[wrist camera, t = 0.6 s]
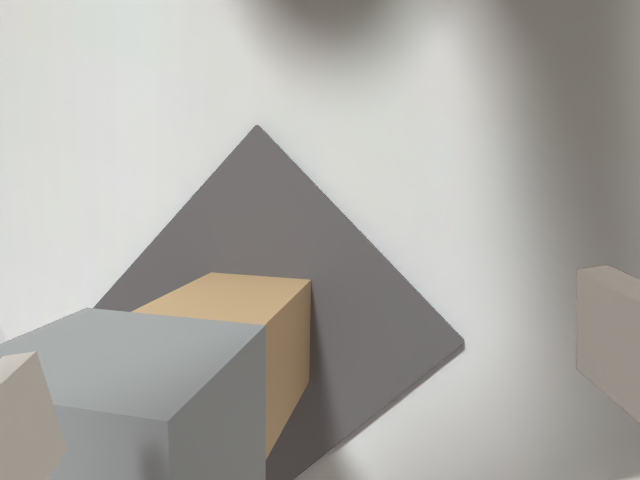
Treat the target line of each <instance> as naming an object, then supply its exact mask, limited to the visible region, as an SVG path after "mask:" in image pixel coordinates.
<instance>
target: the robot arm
mask: <svg viewBox="0 0 640 480" xmlns="http://www.w3.org/2000/svg"><path fill="white" fill-rule="evenodd" d="M576 369H577V370H578V371H579V372H580V373H581V374H582V375H584V376H585V377H586V378H587V379H588V380H589V381H591V382H592V383H593V384H594V385H595V386H596V387H598V388H599V389H600V390H601V391H602V392H603V393H605V394H606V395H607V396H608V397H609V398H610V399H612V400H613V401H614V402H615V403H616V404H617V405H619V406H620V407H621V408H622V409H623V410H624V411H626V412H627V413H628V414H629V415H630V416H631V417H633V418H634V419H635V420H636V421H637V422H638V423H640V279H638V278H636V277H633V276H631V275H629V274H627V273H624V272H622V271H620V270H618V269H616V268H613V267H611V266H609V265H603V266H597V267H590V268H583V269H577V361H576ZM66 452H67V447H66V443H65V440H64V437H63V434H62V431H61V427H60V424H59V421H58V418H57V415H56V412H55V408H54V405H53V402H52V399H51V396H50V392H49V389H48V386H47V383H46V380H45V377H44V373H43V370H42V367H41V364H40V361H39V358H38V354H37V351H34V352H27V353H20V354H14V355H7V356H3V357H2V358H1V359H0V480H48V479H49V478H50V476H51V475H52V473H53V472H54V470H55V469H56V467H57V466H58V464H59V463H60V461H61V459H62V458H63V456H64V455H65V453H66Z"/></svg>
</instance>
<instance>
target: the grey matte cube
mask: <svg viewBox="0 0 640 480" xmlns="http://www.w3.org/2000/svg"><path fill="white" fill-rule="evenodd" d="M34 351H37V354H38V358H39V361H40V364H41V367H42V370H43V373H44V377H45V380H46V383H47V386H48V389H49V392H50V396H51V399H52V402H53V405H54V408H55V412H56V415H57V418H58V421H59V424H60V427H61V431H62V434H63V437H64V440H65V443H66V447H67V452H66V453H65V455H64V456H63V458H62V459H61V461H60V463H59V464H58V466H57V467H56V469H55V470H54V472H53V473H52V475H51V476H50V478H49V479H48V480H266V325H260V324H249V323H239V322H229V321H218V320H208V319H198V318H187V317H177V316H166V315H156V314H146V313H135V312H125V311H115V310H104V309H94V308H86V309H83V310H81V311H78V312H76V313H74V314H71V315H69V316H66V317H64V318H62V319H59V320H57V321H54V322H52V323H50V324H47V325H45V326H42V327H40V328H38V329H35V330H33V331H30V332H28V333H26V334H23V335H21V336H18V337H16V338H14V339H11V340H9V341H6V342H4V343H2V344H0V359H1V358H2V357H3V356H7V355H14V354H20V353H27V352H34Z"/></svg>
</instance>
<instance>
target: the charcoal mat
mask: <svg viewBox="0 0 640 480" xmlns="http://www.w3.org/2000/svg"><path fill="white" fill-rule="evenodd" d="M211 272H212V273H226V274H240V275H253V276H267V277H281V278H294V279H308V280H311V308H310V369H309V383H308V384H307V386H306V388H305V390H304V392H303V394H302V395H301V397H300V399H299V401H298V403H297V404H296V406H295V408H294V410H293V412H292V414H291V415H290V417H289V419H288V421H287V423H286V425H285V426H284V428H283V430H282V432H281V434H280V435H279V437H278V439H277V441H276V443H275V445H274V446H273V448H272V450H271V452H270V454H269V455H268V457H267V459H266V480H293V479H294V478H296V477H297V476H298V475H299V474H301V473H302V472H303V471H304V470H306V469H307V468H308V467H309V466H311V465H312V464H313V463H314V462H316V461H317V460H318V459H319V458H321V457H322V456H323V455H324V454H326V453H327V452H328V451H330V450H331V449H332V448H333V447H335V446H336V445H337V444H338V443H340V442H341V441H342V440H343V439H345V438H346V437H347V436H348V435H350V434H351V433H352V432H353V431H355V430H356V429H357V428H358V427H360V426H361V425H362V424H363V423H365V422H366V421H367V420H368V419H370V418H371V417H372V416H373V415H375V414H376V413H377V412H378V411H380V410H381V409H382V408H383V407H385V406H386V405H387V404H388V403H390V402H391V401H392V400H393V399H395V398H396V397H397V396H398V395H400V394H401V393H402V392H403V391H405V390H406V389H407V388H408V387H410V386H411V385H412V384H413V383H415V382H416V381H417V380H418V379H420V378H421V377H422V376H423V375H425V374H426V373H427V372H428V371H430V370H431V369H432V368H434V367H435V366H436V365H437V364H439V363H440V362H441V361H442V360H444V359H445V358H446V357H447V356H449V355H450V354H451V353H452V352H454V351H455V350H456V349H457V348H459V347H460V346H461V345H462V344H464V339H463V338H462V337H461V336H460V335H459V334H458V333H457V332H456V331H455V330H454V329H453V328H452V327H451V326H450V325H449V324H448V323H447V322H446V321H445V320H444V318H443V317H442V316H441V315H440V314H439V313H438V312H437V311H436V310H435V309H434V308H433V307H432V306H431V305H430V304H429V303H428V302H427V301H426V300H425V299H424V298H423V297H422V296H421V294H420V293H419V292H418V291H417V290H416V289H415V288H414V287H413V286H412V285H411V284H410V283H409V282H408V281H407V280H406V279H405V278H404V277H403V276H402V275H401V274H400V273H399V271H398V270H397V269H396V268H395V267H394V266H393V265H392V264H391V263H390V262H389V261H388V260H387V259H386V258H385V257H384V256H383V255H382V254H381V253H380V252H379V251H378V250H377V248H376V247H375V246H374V245H373V244H372V243H371V242H370V241H369V240H368V239H367V238H366V237H365V236H364V235H363V234H362V233H361V232H360V231H359V230H358V229H357V228H356V227H355V226H354V224H353V223H352V222H351V221H350V220H349V219H348V218H347V217H346V216H345V215H344V214H343V213H342V212H341V211H340V210H339V209H338V208H337V207H336V206H335V205H334V204H333V203H332V201H331V200H330V199H329V198H328V197H327V196H326V195H325V194H324V193H323V192H322V191H321V190H320V189H319V188H318V187H317V186H316V185H315V184H314V183H313V182H312V181H311V180H310V179H309V177H308V176H307V175H306V174H305V173H304V172H303V171H302V170H301V169H300V168H299V167H298V166H297V165H296V164H295V163H294V162H293V161H292V160H291V159H290V158H289V157H288V156H287V154H286V153H285V152H284V151H283V150H282V149H281V148H280V147H279V146H278V145H277V144H276V143H275V142H274V141H273V140H272V139H271V138H270V137H269V136H268V135H267V134H266V133H265V132H264V130H263V129H262V128H261V127H260V126H258V125H256V126H255V127H254V128H253V129H252V130H251V131H250V132H249V133H248V135H247V136H246V137H245V138H244V139H243V140H242V141H241V142H240V144H239V145H238V146H237V147H236V148H235V149H234V150H233V151H232V153H231V154H230V155H229V156H228V157H227V158H226V159H225V160H224V162H223V163H222V164H221V165H220V166H219V167H218V168H217V169H216V171H215V172H214V173H213V174H212V175H211V176H210V177H209V178H208V180H207V181H206V182H205V183H204V184H203V185H202V186H201V187H200V189H199V190H198V191H197V192H196V193H195V194H194V195H193V196H192V198H191V199H190V200H189V201H188V202H187V203H186V204H185V205H184V207H183V208H182V209H181V210H180V211H179V212H178V213H177V214H176V216H175V217H174V218H173V219H172V220H171V221H170V222H169V223H168V225H167V226H166V227H165V228H164V229H163V230H162V231H161V232H160V234H159V235H158V236H157V237H156V238H155V239H154V240H153V241H152V243H151V244H150V245H149V246H148V247H147V248H146V249H145V250H144V252H143V253H142V254H141V255H140V256H139V257H138V258H137V259H136V261H135V262H134V263H133V264H132V265H131V266H130V267H129V268H128V270H127V271H126V272H125V273H124V274H123V275H122V276H121V277H120V279H119V280H118V281H117V282H116V283H115V284H114V285H113V286H112V288H111V289H110V290H109V291H108V292H107V293H106V294H105V295H104V297H103V298H102V299H101V300H100V301H99V302H98V303H97V304H96V306H95V307H94V309H104V310H115V311H125V312H131V311H134V310H136V309H138V308H140V307H142V306H144V305H146V304H148V303H150V302H152V301H154V300H156V299H158V298H160V297H162V296H164V295H166V294H168V293H170V292H172V291H174V290H176V289H178V288H180V287H182V286H184V285H186V284H188V283H190V282H192V281H195V280H197V279H199V278H201V277H203V276H205V275H207V274H209V273H211Z"/></svg>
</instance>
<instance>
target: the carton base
mask: <svg viewBox="0 0 640 480" xmlns="http://www.w3.org/2000/svg"><path fill="white" fill-rule="evenodd" d="M310 308H311V280H308V279H294V278H281V277H267V276H253V275H240V274H226V273H212V272H211V273H209V274H207V275H205V276H203V277H201V278H199V279H197V280H195V281H192V282H190V283H188V284H186V285H184V286H182V287H180V288H178V289H176V290H174V291H172V292H170V293H168V294H166V295H164V296H162V297H160V298H158V299H156V300H154V301H152V302H150V303H148V304H146V305H144V306H142V307H140V308H138V309H136V310H134V311H131V312H135V313H146V314H156V315H166V316H177V317H187V318H198V319H208V320H218V321H229V322H239V323H249V324H260V325H266V459H267V457H268V455H269V454H270V452H271V450H272V448H273V446H274V445H275V443H276V441H277V439H278V437H279V435H280V434H281V432H282V430H283V428H284V426H285V425H286V423H287V421H288V419H289V417H290V415H291V414H292V412H293V410H294V408H295V406H296V404H297V403H298V401H299V399H300V397H301V395H302V394H303V392H304V390H305V388H306V386H307V384H308V383H309V369H310Z"/></svg>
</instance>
